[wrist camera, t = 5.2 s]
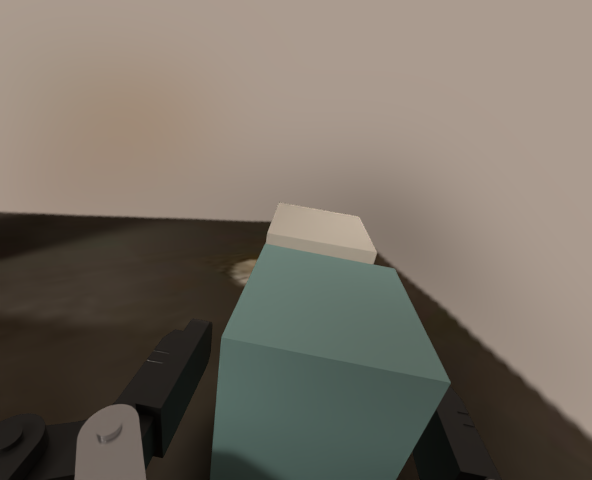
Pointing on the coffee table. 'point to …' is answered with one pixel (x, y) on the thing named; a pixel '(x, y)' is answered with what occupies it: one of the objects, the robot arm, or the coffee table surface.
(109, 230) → the coffee table surface
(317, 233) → the tower top block
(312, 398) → the teal block
